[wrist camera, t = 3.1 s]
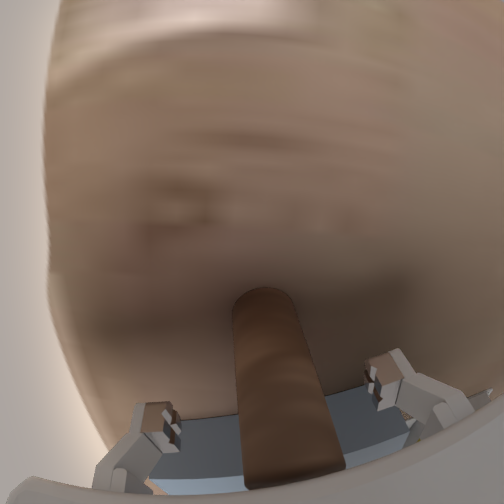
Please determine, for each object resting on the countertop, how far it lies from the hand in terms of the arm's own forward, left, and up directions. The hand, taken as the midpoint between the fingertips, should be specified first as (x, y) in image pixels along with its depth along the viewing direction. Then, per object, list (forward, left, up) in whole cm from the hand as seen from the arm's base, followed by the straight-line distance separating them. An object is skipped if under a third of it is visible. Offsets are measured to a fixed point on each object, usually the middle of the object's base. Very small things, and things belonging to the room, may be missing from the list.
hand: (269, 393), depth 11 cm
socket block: (+1, +19, -5) cm, 19 cm away
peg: (0, 0, -5) cm, 5 cm away
